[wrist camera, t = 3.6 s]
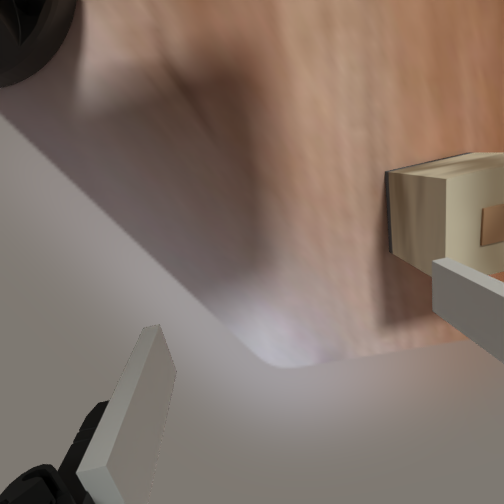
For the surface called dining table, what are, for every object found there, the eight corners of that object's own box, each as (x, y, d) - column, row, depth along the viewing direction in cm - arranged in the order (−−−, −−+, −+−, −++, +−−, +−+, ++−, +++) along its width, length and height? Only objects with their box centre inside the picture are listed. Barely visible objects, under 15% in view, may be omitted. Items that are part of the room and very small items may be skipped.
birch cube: (389, 251, 26) (446, 286, 19) (384, 171, 24) (448, 179, 17) (465, 233, 26) (548, 262, 20) (467, 152, 24) (563, 153, 17)
